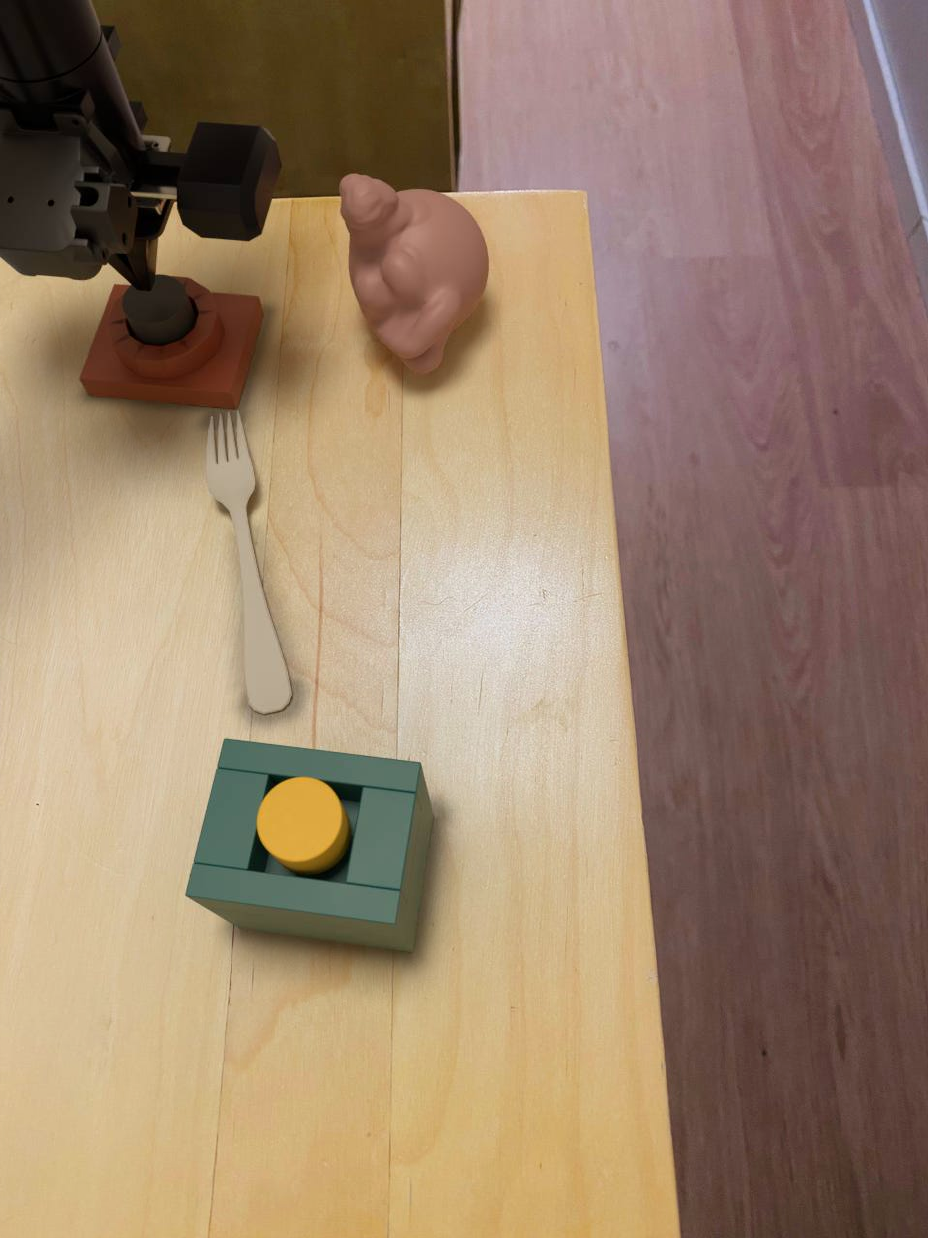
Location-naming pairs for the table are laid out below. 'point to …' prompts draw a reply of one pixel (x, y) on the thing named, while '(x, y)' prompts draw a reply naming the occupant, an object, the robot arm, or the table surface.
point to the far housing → (177, 352)
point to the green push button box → (341, 896)
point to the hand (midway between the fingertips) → (147, 285)
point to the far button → (159, 311)
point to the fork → (248, 571)
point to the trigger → (304, 825)
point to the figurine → (412, 265)
